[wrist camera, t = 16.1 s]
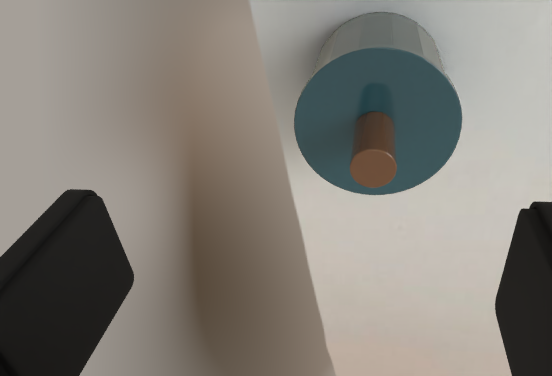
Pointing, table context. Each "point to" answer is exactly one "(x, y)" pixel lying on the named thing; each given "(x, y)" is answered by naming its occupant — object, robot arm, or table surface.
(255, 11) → the table surface
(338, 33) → the pot
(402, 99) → the lid
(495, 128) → the table surface
